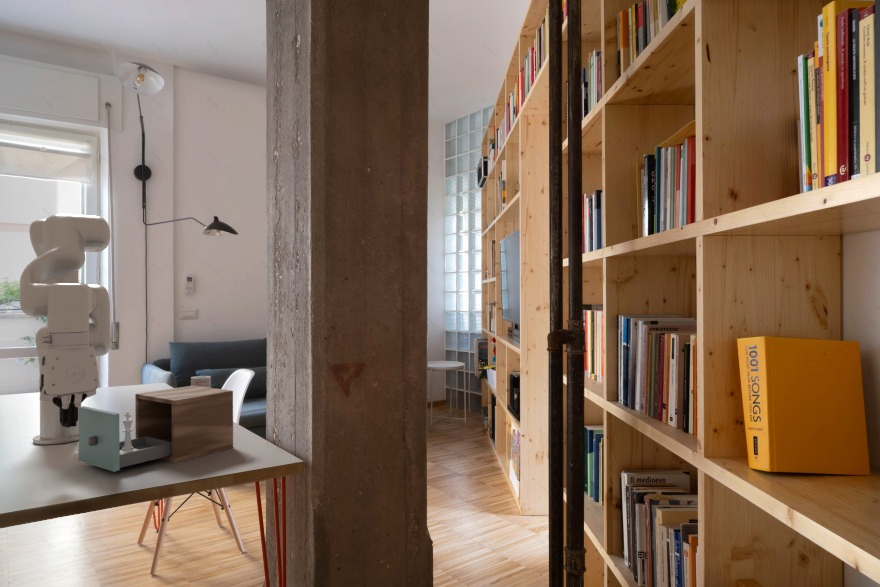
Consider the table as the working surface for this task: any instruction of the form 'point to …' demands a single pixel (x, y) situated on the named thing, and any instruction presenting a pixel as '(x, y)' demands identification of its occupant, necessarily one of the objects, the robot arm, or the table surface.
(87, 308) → the robot arm
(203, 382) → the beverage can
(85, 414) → the drawer
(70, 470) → the table surface
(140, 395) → the cabinet
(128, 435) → the chess piece
